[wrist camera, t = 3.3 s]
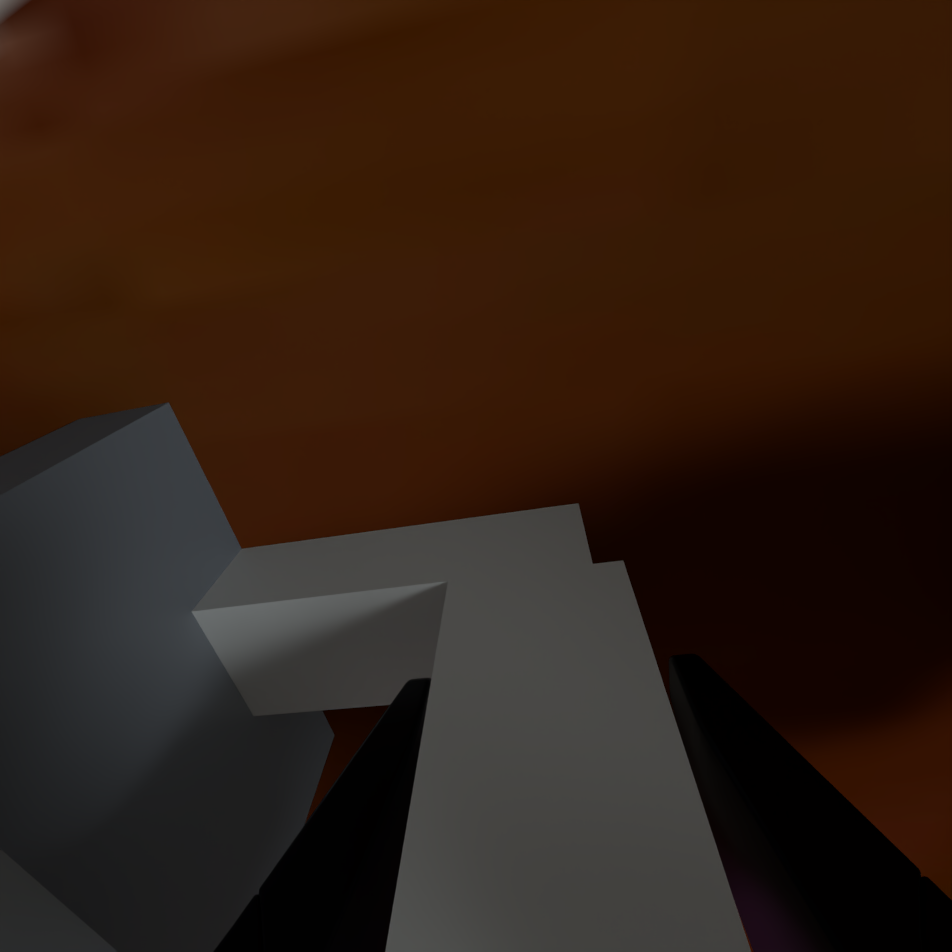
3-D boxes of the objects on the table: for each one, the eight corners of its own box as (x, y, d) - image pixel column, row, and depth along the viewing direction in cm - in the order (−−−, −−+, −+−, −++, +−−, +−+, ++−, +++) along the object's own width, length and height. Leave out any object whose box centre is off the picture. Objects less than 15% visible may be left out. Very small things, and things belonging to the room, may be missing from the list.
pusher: (586, 324, 9) (788, 617, 2) (623, 712, 13) (727, 1168, 7) (79, 419, 10) (-631, 757, 4) (269, 740, 14) (88, 1136, 8)
